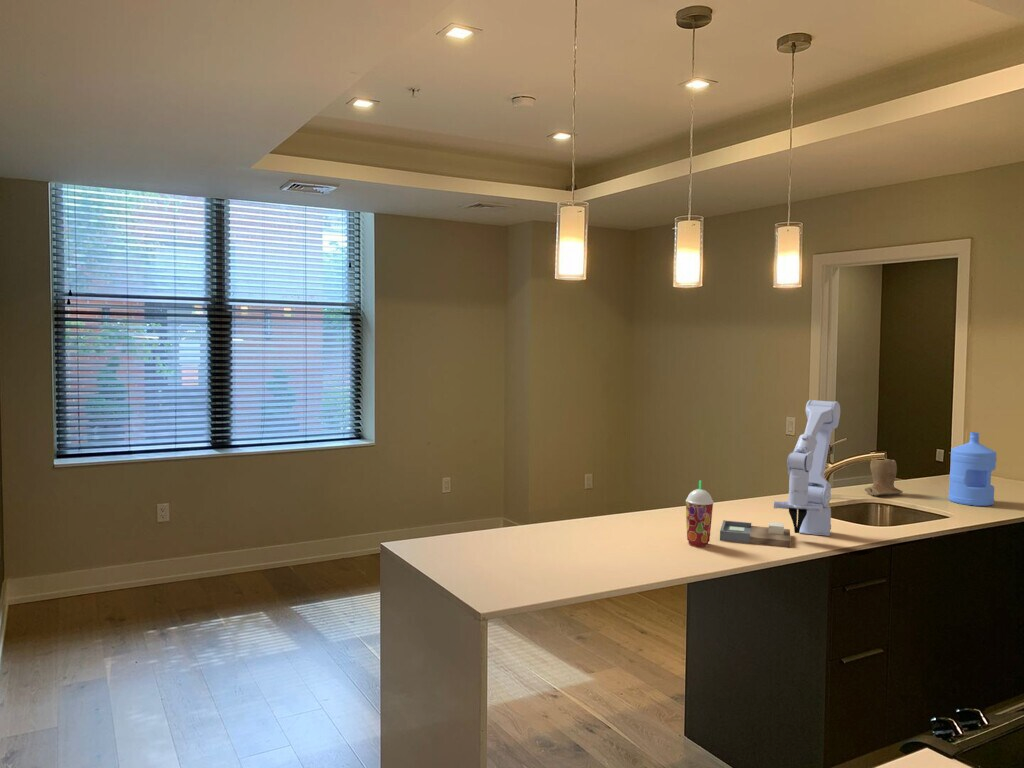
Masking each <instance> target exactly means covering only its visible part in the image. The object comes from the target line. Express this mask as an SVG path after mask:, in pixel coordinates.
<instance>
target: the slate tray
mask: <svg viewBox="0 0 1024 768" xmlns="http://www.w3.org/2000/svg"><path fill="white" fill-rule="evenodd" d="M730 526H732V527H743V528H744V533H743V532H732V531H729V528H730ZM751 526H752V522H746V521H734V520H722V523H721V527H720V530H719V541H721V542H722V541H723V542H731V543H733V542H734V543H742V544H743V543H744V544H751V543H750V532H751Z"/></svg>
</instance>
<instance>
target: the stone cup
mask: <svg viewBox="0 0 1024 768" xmlns="http://www.w3.org/2000/svg"><path fill="white" fill-rule="evenodd" d="M884 459H885V458H884ZM869 467H870V468H869V469H870V472H871V475H872V476H871V477H872V481H873V484H872V485H871V486H870V487H866V488H864V491H865V493H867V494H868V495H869V496H873V495H874V496H877V497H880V496H879V495H881V496H891V495H898V494H903V490H902V489H898V488H896V487H895V486H894V485H895V479H896V476H897V472H898V470H897V469H898V466H897V462H896V460H894V459H888V458H886V459H885V460H875V461H871V460H870V466H869Z"/></svg>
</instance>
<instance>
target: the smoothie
mask: <svg viewBox="0 0 1024 768" xmlns="http://www.w3.org/2000/svg"><path fill="white" fill-rule="evenodd" d="M713 507H714V500H713V498H712V496H711V494H710V493H709V492H708V491H707V490H705V489H702V480H700V479H699V481H698V488H696V489H694V490H692V491H690V493H689V494H688V496H687V498H686V499H685V515H686V520H685V521H686V540H687V541H688V544H689V545H690V546H692V547H697V548H698V547H701V548H703V547H707V546H708V544H709V542H710V540H711V539H710V538H711V529H712V528H711V527H712V520H713V519H712V518H713Z"/></svg>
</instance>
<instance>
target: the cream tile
mask: <svg viewBox="0 0 1024 768" xmlns="http://www.w3.org/2000/svg"><path fill="white" fill-rule="evenodd" d="M784 525H785V524H784V523H780V522H768V527H769V533H771V534H782V535H784V529H785V528H784V527H785V526H784Z"/></svg>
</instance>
